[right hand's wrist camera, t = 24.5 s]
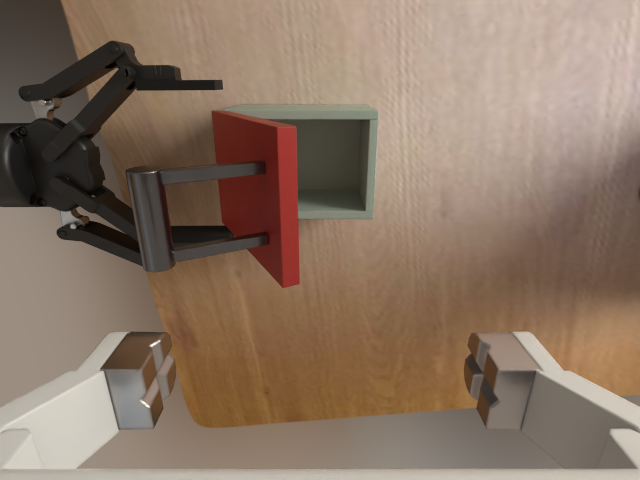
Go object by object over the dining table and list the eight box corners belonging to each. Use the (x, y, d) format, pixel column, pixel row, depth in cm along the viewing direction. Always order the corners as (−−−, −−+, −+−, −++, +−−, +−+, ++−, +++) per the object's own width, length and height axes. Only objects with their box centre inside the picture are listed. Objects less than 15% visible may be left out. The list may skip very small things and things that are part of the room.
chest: (367, 104, 40) (379, 110, 33) (363, 194, 44) (373, 219, 36) (239, 104, 40) (220, 110, 33) (246, 194, 44) (230, 219, 36)
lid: (296, 126, 21) (120, 135, 17) (299, 284, 25) (154, 320, 21) (225, 110, 32) (109, 113, 28) (234, 220, 36) (132, 236, 32)
